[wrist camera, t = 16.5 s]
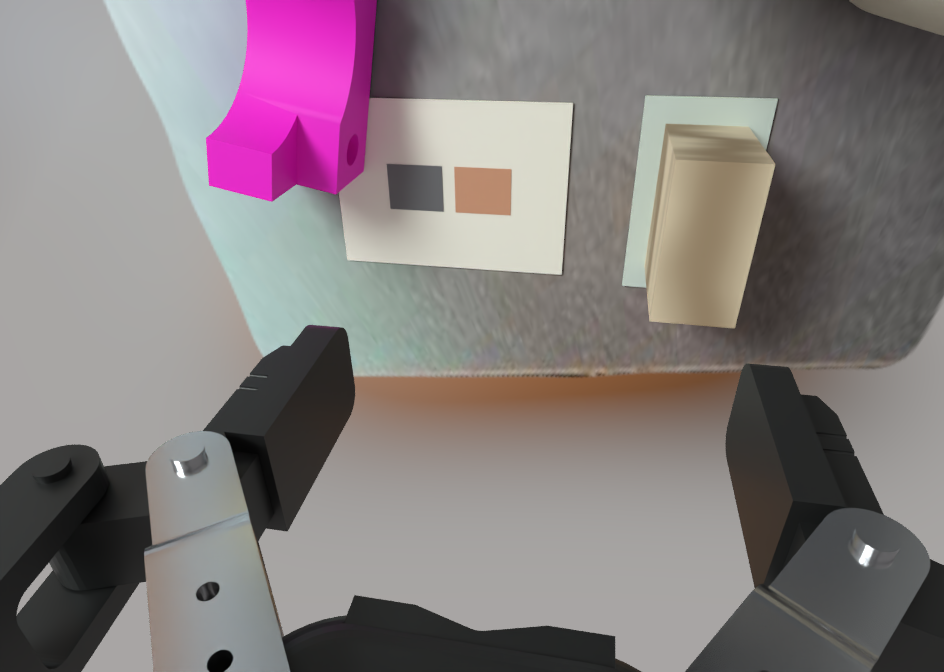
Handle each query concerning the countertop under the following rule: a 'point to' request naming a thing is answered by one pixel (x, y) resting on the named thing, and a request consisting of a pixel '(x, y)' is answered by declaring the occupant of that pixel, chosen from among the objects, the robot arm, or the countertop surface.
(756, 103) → the pad
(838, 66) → the countertop surface
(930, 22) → the travel mug
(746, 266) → the maple block
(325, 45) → the toy block
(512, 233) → the tile
